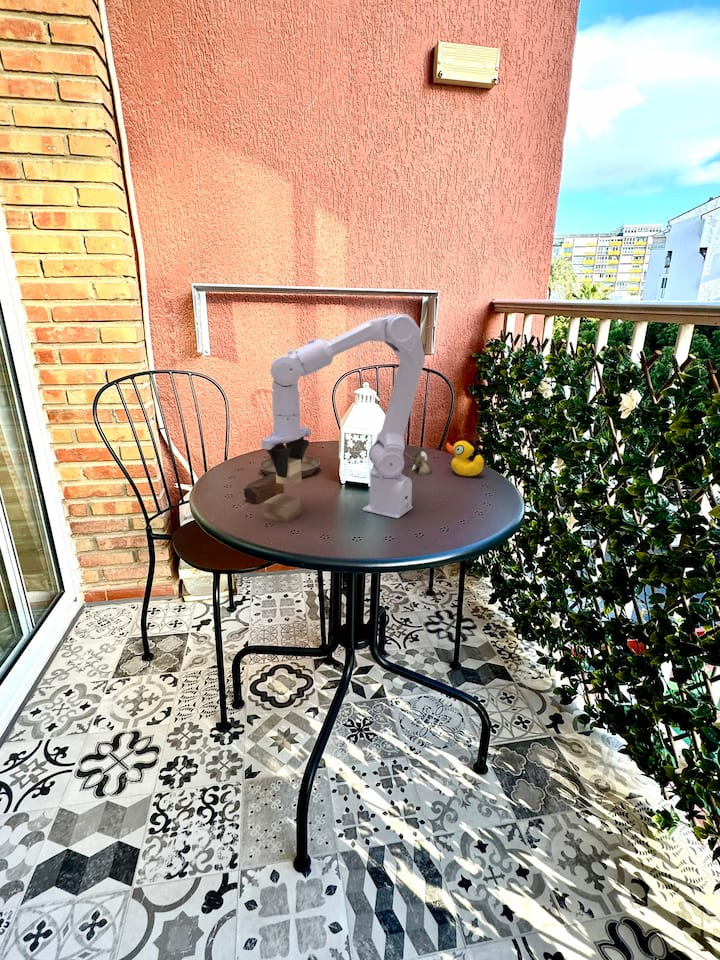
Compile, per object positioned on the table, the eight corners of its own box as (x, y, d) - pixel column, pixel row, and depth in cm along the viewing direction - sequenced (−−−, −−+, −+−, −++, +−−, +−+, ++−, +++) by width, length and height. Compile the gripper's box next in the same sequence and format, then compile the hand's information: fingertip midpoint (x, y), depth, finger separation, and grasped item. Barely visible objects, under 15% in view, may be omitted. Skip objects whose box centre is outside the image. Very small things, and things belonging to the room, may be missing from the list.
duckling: (441, 474, 143) (443, 440, 139) (448, 469, 147) (450, 437, 144) (478, 480, 137) (481, 446, 134) (485, 475, 141) (488, 442, 138)
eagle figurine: (398, 464, 148) (407, 467, 139) (410, 443, 148) (420, 445, 139) (418, 476, 150) (429, 480, 141) (430, 456, 150) (441, 459, 141)
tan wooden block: (301, 513, 114) (300, 497, 113) (286, 523, 109) (285, 506, 108) (279, 509, 117) (278, 493, 115) (264, 518, 111) (263, 502, 110)
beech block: (301, 481, 111) (300, 459, 109) (290, 485, 107) (289, 464, 106) (287, 478, 113) (286, 457, 111) (276, 482, 109) (275, 461, 108)
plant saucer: (248, 478, 139) (247, 468, 138) (276, 461, 155) (275, 452, 154) (306, 484, 134) (306, 474, 133) (328, 466, 150) (328, 457, 149)
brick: (272, 489, 130) (271, 473, 128) (284, 492, 128) (283, 475, 126) (244, 502, 121) (242, 484, 120) (256, 505, 119) (255, 487, 118)
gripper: (293, 406, 113) (295, 463, 117) (248, 417, 101) (252, 479, 106) (318, 410, 110) (318, 468, 114) (274, 421, 98) (277, 485, 102)
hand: (288, 473), depth 110 cm, fingers closed on beech block, 4 cm apart
